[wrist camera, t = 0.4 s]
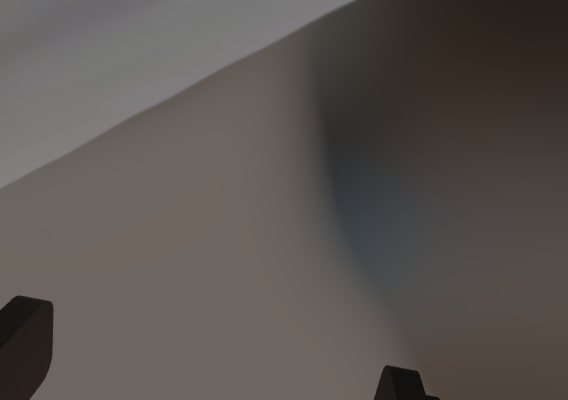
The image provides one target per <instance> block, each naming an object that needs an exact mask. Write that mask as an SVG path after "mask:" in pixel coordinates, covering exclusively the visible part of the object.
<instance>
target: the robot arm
mask: <svg viewBox="0 0 568 400" xmlns="http://www.w3.org/2000/svg"><path fill="white" fill-rule="evenodd" d="M52 345H53V305H52V303H51V302H50V301H46V300H41V299H35V298H30V297H25V296H16V297H14V298H13V299H12V300H11V301H10V302H9V303H7V304H6V305H5V306H4V307H3V308H2V309H1V310H0V400H30V398H31V397H32V396H33V394H34V393H35V392H36V390H37V389H38V388H39V386H40V385H41V383H42V382H43V381H44V379H45V377H46V375H47V373H48V370H49V367H50V364H51V359H52ZM374 400H440V399H439V398H438V397H434V396H428V395H426V394H425V391H424V387H423V384H422V381H421V377H420V374H419V372H418V371H415V370H410V369H405V368H399V367H394V366H388V365H386V366H385V367H384V369H383V371H382V375H381V378H380V381H379V384H378V387H377V391H376V395H375V397H374Z"/></svg>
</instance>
